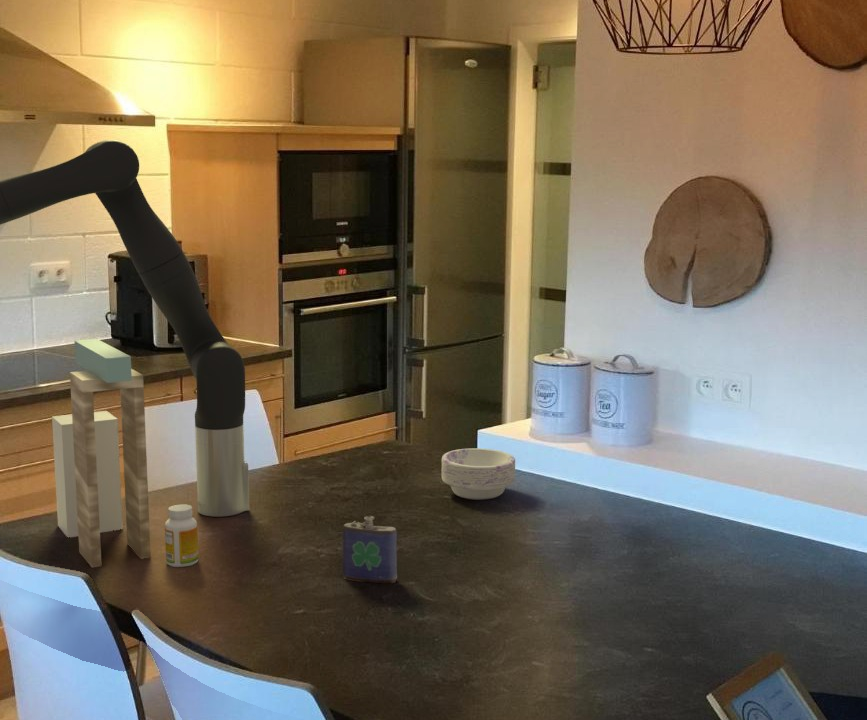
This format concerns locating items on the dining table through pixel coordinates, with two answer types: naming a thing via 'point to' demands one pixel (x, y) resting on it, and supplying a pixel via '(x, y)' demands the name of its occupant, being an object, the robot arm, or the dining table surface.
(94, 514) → the bridge
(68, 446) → the light grey tall block
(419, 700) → the dining table surface
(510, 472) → the paper bowls
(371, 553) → the flask
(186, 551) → the supplement bottle
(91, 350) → the pale green long bar
